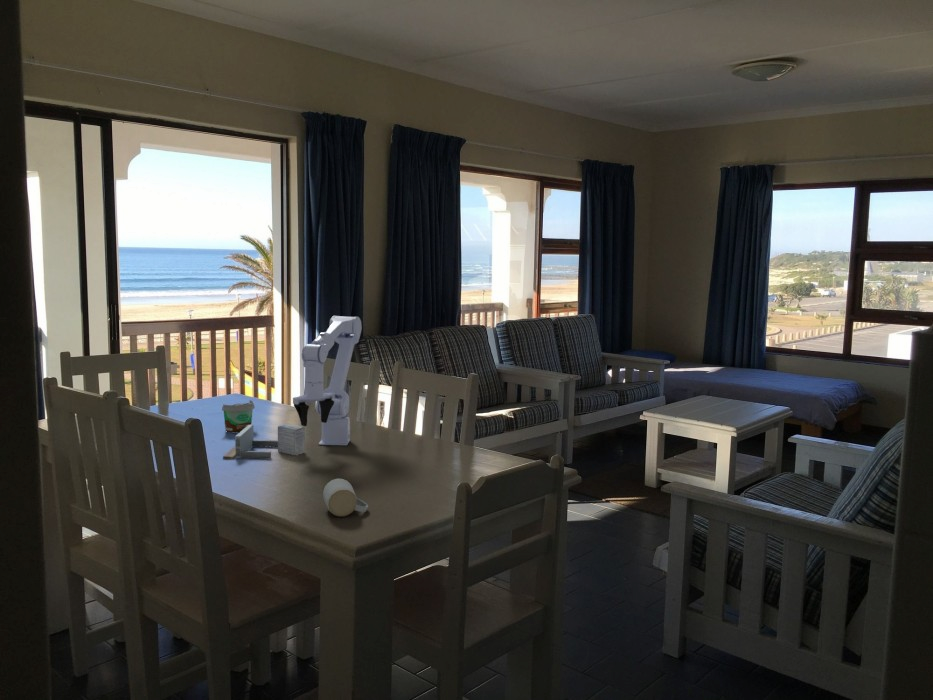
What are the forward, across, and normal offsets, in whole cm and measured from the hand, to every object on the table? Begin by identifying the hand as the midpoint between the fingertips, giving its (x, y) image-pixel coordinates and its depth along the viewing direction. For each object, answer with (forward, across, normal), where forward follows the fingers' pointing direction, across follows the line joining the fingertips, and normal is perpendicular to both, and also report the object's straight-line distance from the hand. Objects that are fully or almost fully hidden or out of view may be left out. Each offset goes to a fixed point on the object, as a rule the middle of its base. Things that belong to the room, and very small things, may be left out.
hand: (314, 423), depth 240 cm
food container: (+10, +3, -41) cm, 42 cm away
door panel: (+9, +16, -15) cm, 24 cm away
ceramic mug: (+10, +26, +52) cm, 59 cm away
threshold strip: (+9, +18, -17) cm, 26 cm away
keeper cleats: (+9, +13, -12) cm, 19 cm away
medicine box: (+10, +5, -5) cm, 12 cm away
